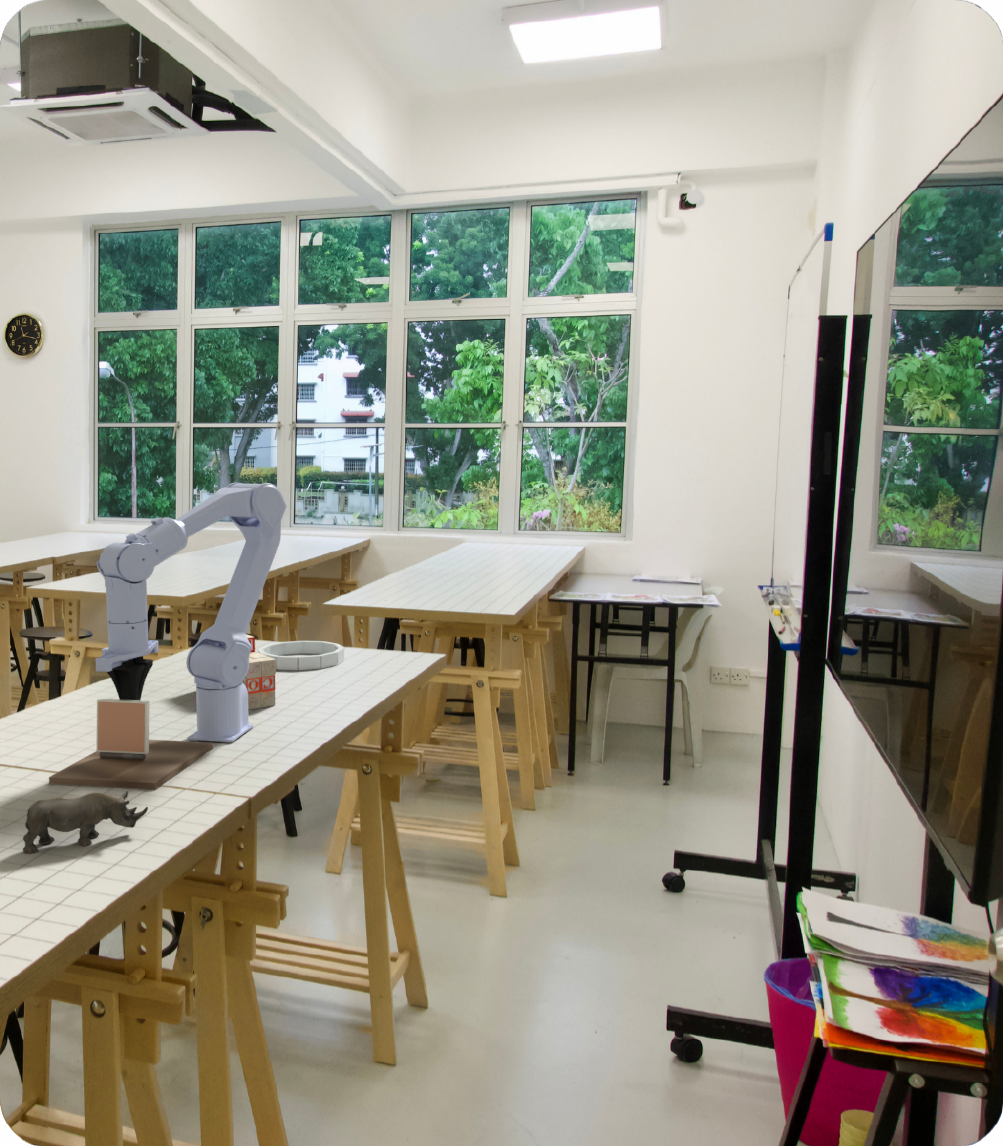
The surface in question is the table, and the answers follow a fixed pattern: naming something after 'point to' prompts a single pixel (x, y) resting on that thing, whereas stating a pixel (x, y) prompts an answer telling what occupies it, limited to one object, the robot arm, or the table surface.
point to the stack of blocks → (260, 678)
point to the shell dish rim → (329, 656)
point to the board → (133, 766)
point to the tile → (123, 726)
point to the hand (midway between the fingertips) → (130, 707)
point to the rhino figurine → (76, 817)
